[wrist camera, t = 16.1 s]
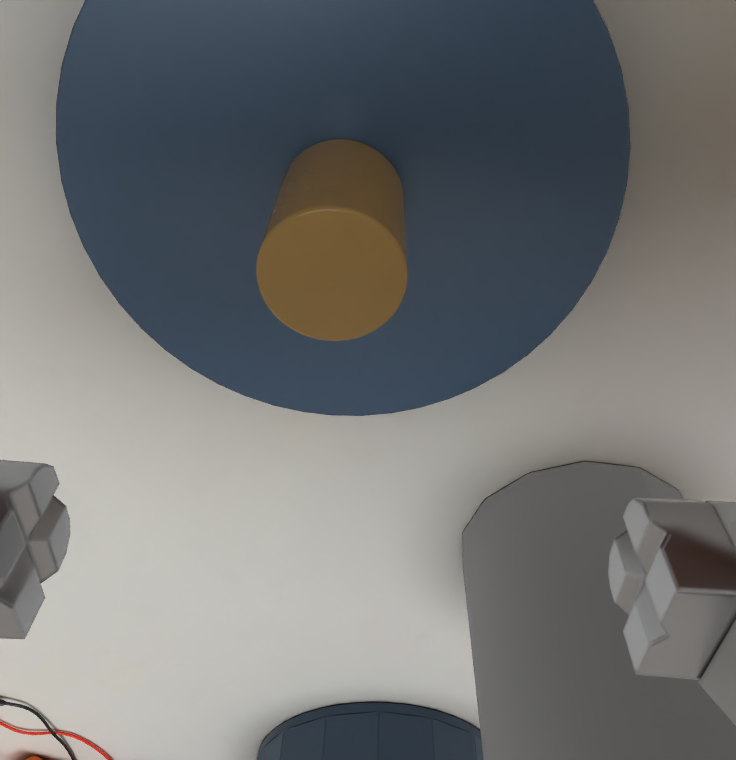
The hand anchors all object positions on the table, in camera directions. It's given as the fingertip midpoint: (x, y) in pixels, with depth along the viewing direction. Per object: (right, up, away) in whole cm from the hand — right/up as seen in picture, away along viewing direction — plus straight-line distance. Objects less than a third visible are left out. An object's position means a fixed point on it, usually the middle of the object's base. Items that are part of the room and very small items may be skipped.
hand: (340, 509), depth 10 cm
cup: (+8, -4, +16) cm, 18 cm away
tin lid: (0, +7, +7) cm, 10 cm away
